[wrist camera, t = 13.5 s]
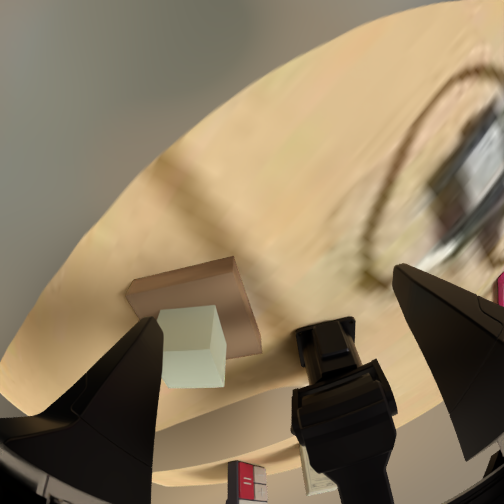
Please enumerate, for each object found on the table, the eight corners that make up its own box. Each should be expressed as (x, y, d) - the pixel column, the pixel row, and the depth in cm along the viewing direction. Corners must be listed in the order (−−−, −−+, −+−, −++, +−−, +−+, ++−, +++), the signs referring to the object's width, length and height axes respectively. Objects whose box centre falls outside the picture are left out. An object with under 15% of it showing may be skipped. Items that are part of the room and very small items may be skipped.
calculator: (267, 467, 53) (271, 515, 40) (254, 470, 55) (256, 517, 41) (239, 459, 49) (240, 514, 36) (225, 462, 50) (225, 514, 37)
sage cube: (226, 344, 25) (224, 387, 21) (177, 347, 25) (168, 388, 21) (215, 304, 23) (209, 349, 18) (160, 309, 23) (146, 351, 18)
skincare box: (298, 448, 46) (304, 496, 36) (300, 441, 44) (307, 493, 33) (327, 444, 46) (335, 490, 36) (331, 437, 44) (340, 487, 34)
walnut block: (260, 332, 28) (262, 353, 26) (175, 346, 29) (171, 366, 27) (233, 253, 24) (232, 272, 21) (135, 276, 25) (124, 295, 22)
